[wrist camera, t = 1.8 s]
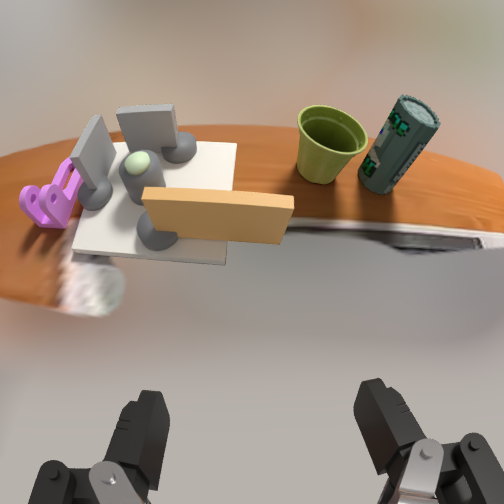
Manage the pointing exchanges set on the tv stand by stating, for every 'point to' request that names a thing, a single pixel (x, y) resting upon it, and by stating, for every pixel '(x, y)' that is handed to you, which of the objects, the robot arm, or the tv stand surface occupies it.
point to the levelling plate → (127, 214)
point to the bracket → (52, 198)
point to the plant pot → (327, 142)
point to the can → (398, 144)
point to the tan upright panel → (212, 216)
